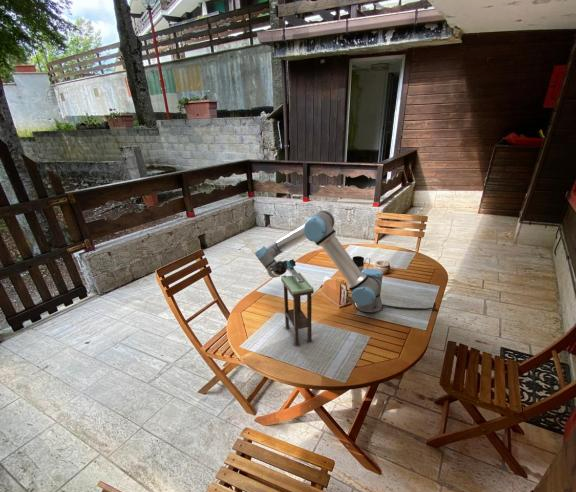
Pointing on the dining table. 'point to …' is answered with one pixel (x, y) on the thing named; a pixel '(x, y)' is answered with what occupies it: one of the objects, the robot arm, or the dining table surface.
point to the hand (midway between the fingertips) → (289, 262)
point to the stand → (298, 313)
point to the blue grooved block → (294, 272)
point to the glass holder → (360, 262)
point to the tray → (297, 284)
